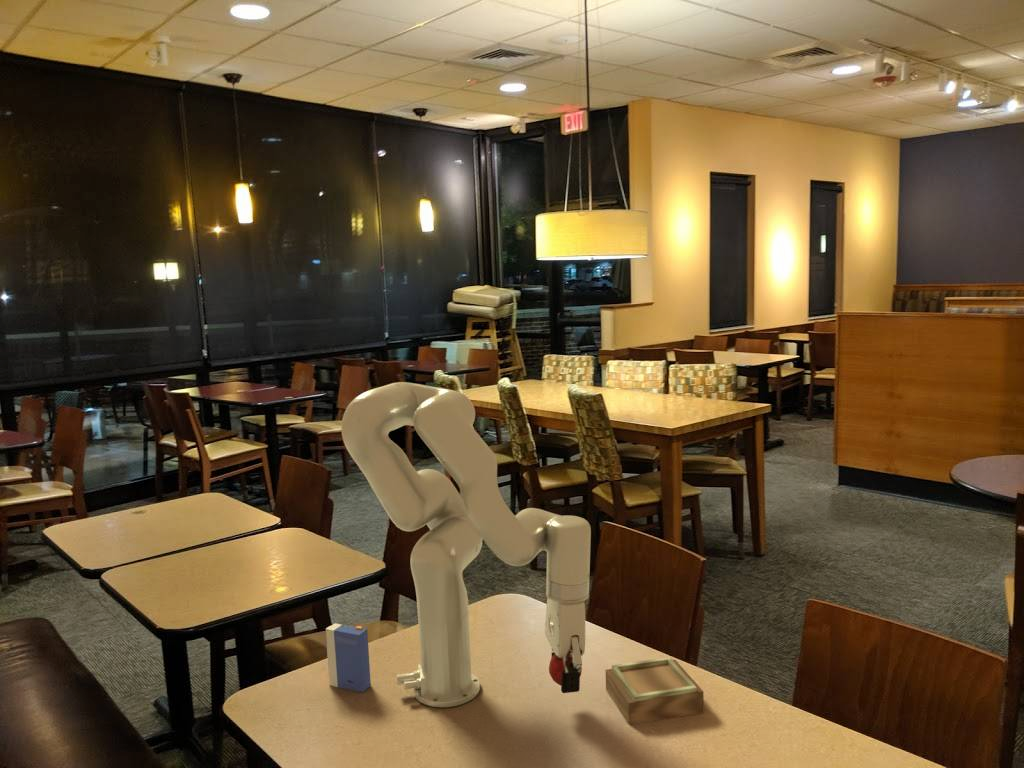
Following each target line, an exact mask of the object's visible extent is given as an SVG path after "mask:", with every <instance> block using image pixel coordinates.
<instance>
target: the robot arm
mask: <svg viewBox="0 0 1024 768" xmlns="http://www.w3.org/2000/svg"><path fill="white" fill-rule="evenodd" d="M475 419H476V408H475V406H474V404H473V402H472V401H471V400H470V398H469V397H468V396H467V395H466V394H464V393H462V392H459V391H457V390H453V389H449V388H443V387H438V386H437V387H436V386H430V385H425V384H420V383H413V382H406V381H402V382H401V381H398V382H392V383H389V384H386V385H383V386H380V387H376V388H372V389H369V390H367V391H364V392H362V393H361V394H359V395H357V396H356V397H354V399H352V401H351V402H350V403H349V404H348V405H347V407H346V409H345V411H344V412H343V415H342V421H341V426H340V427H341V437H342V440H343V444H344V446H345V448H346V450H347V451H348V454H349V455H350V457H351V458H352V460H353V461H354V462H355V464H356V465H357V466H358V468H359V470H360V471H361V473H362V474H363V475H364V477H365V479H366V480H367V481H368V484H369V485H370V487H371V490H372V491H373V493H374V494H375V496H376V498H377V499H378V500H379V502H380V503H381V505H382V507H383V509H384V511H385V512H386V514H387V515H388V517H389V518H390V520H391V522H392V523H393V524H394V525H395V527H397V528H398V529H400V530H401V531H404V532H414V531H417V530H419V529H421V528H423V527H424V526H425V525H426V526H427V527H428V528H429V530H428V531H427V532H426V533H424V534H423V535H422V536H421V537H420V538H419V539H418V541H417V542H416V543H415V545H414V546H413V548H412V550H411V553H410V570H411V575H412V578H413V582H414V583H413V584H414V588H415V595H416V608H417V609H416V611H417V618H418V619H417V620H418V623H417V624H418V639H419V641H418V642H419V657H420V661H419V662H420V663H418V664H417V669H416V670H415V669H414V670H413V671H412V672H408V673H397V674H396V685H397V686H402V685H403V686H404V687H403V688H404V690H411V689H413V695H414V697H415V698H416V700H417V701H418V702H420V703H422V704H423V705H425V706H429V707H434V708H451V707H456V706H461V705H464V704H466V703H468V702H470V701H471V700H473V699H475V698H476V697H477V695H478V694H479V693H480V690H481V681H480V678H479V677H478V676H477V675H476V674H475V673H473V672H472V658H471V657H472V656H471V655H472V654H471V637H470V631H471V630H470V615H469V613H470V612H469V598H468V593H467V592H468V591H467V587H466V585H465V582H464V579H463V571H464V569H466V568H467V566H468V565H470V563H471V562H473V561H474V559H476V557H477V556H478V555H479V554H480V551H481V550H482V546H483V541H484V543H485V544H486V545H487V547H488V548H489V549H490V550H491V551H492V553H493V554H494V555H495V556H496V557H497V558H498V559H499V560H501V561H502V562H504V563H505V564H507V565H510V566H513V567H522V566H525V565H527V564H530V563H531V562H532V561H533V560H534V559H535V558H536V556H538V554H539V553H540V552H543V551H545V552H546V582H545V583H546V586H545V587H546V588H545V595H546V597H547V600H546V609H545V611H546V612H545V623H544V626H545V627H544V634H545V638H546V639H547V642H548V644H549V646H550V647H551V651H552V652H551V657H552V656H553V655H554V654H556V655H557V656H558V657H559V658H562V657H563V668H564V671H562V677H561V685H560V688H561V689H560V691H561V693H562V694H569V693H579V691H580V686H581V685H580V684H581V680H580V679H581V676H580V667H581V666H582V665H583V660H582V656H584V654H585V651H586V606H585V601H586V600H588V598H589V596H590V595H589V594H590V568H591V566H590V565H591V538H592V536H591V535H592V530H591V529H592V528H591V525H590V523H589V521H588V520H586V519H585V518H584V517H580V516H577V515H568V514H567V515H561V514H557V513H553V512H550V511H546V510H544V509H541V508H535V507H527V508H525V509H522V510H520V511H519V512H517V514H514V513H513V511H512V510H511V509H510V507H509V506H508V504H507V503H506V502H505V501H504V498H503V496H502V494H501V492H500V489H499V485H498V461H497V459H498V458H497V456H496V454H495V453H494V452H493V450H492V449H491V448H490V447H489V446H488V444H487V443H486V442H485V441H484V439H483V438H482V437H481V436H480V435H479V433H478V432H477V430H476V429H475V428H474V427H473V425H474V424H475V423H474V422H475ZM404 426H411V427H414V430H415V431H416V433H417V435H418V436H419V437H420V439H421V440H422V441H423V443H424V444H425V445H426V447H428V449H429V450H430V452H431V453H432V454H433V455H434V457H435V458H436V459H437V460H438V462H440V464H441V465H442V467H443V468H444V469H445V471H447V473H448V474H449V476H451V477H452V479H453V480H454V481H455V483H456V484H457V486H458V488H459V490H460V493H459V491H458V489H457V488H456V486H455V485H454V484H453V482H452V481H451V479H449V477H448V476H446V475H445V474H444V473H442V472H440V471H439V470H436V469H432V468H424V469H420V470H416V469H415V467H414V466H413V465H412V463H411V461H410V460H409V457H408V456H407V454H406V453H405V452H404V450H403V449H402V448H401V447H400V446H399V445H398V444H397V443H395V442H394V441H393V440H391V438H390V437H389V433H390V432H392V431H395V430H397V429H400V428H402V427H404ZM569 650H571V652H572V653H568V651H569ZM567 653H568V654H567ZM567 658H573V660H572V662H570V663H569V664H568V659H567Z"/></svg>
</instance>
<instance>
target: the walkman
mask: <svg viewBox="0 0 1024 768" xmlns="http://www.w3.org/2000/svg"><path fill="white" fill-rule="evenodd" d="M368 634H369V633H368V628H364V627H363V626H359V625H357V626H354V625H353V626H352V625H348V624H347V625H346V624H340V623H333V624H332V625H329V626H328V627H326V628H325V636H326V639H325V640H326V654H327V655H326V656H327V657H326V658H327V669H328V683H329V686H330V685H331V686H330V687H335V688H340V689H345V690H350V691H356V692H359V693H364V692H366V690H368V688H370V687H371V686H372V683H371V669H370V666H371V665H370V652H369V635H368Z"/></svg>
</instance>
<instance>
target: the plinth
mask: <svg viewBox="0 0 1024 768" xmlns="http://www.w3.org/2000/svg"><path fill="white" fill-rule="evenodd" d="M605 690H606V692H607V694H608V695H609V697H610V698H611V700H612V701H613V703H614V704H615V706H616V707H617V709H618V710H619V712H620V713H621V715H622V716H623V718H624V720H625V721H626V722H627V724H628V725H629V726H630V725H636V724H641V723H648V722H653V721H654V722H655V721H659V720H666V719H672V718H678V717H683V716H689V715H696V714H697V715H698V714H702V713H703V714H704V690H703V689H702V688H701V687H700V685H698V684H697V683H696V681H695V680H694V679H693V678H692V677H691V676H690V674H689V672H687V671H686V669H684V667H683V666H682V665H681V664H680V663H679V662H678V661H677V660H676V659H672V657H670V656H667V657H660V658H659V657H658V658H652V659H646V660H640V661H639V660H638V661H634V662H633V661H632V662H626V663H625V662H624V663H618V664H612V665H611V668H609V669H605Z"/></svg>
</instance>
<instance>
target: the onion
mask: <svg viewBox="0 0 1024 768" xmlns="http://www.w3.org/2000/svg"><path fill="white" fill-rule="evenodd" d="M568 653H572V652H571V650H569V651H568ZM568 653H567V654H568ZM567 659H568V664H569V663H570V662H572V660H573V658H567ZM582 668H583V667H582V666H581V667H580V677H581V676H582V673H583V672H582V670H583V669H582ZM562 671H564V668H563V657H562V658H559V657H558V656H557V655H556V654H554V655H553V656H552V655H551V658H550V660H549V665H548V672H549V676H550V677H551V679H552V681H553V682H554V683H555V684H557V685H559V686H561V677H562Z"/></svg>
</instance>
